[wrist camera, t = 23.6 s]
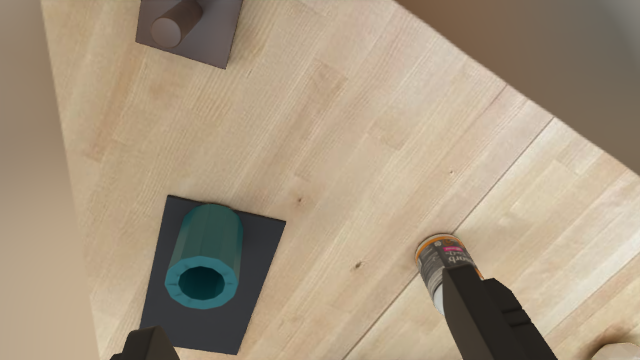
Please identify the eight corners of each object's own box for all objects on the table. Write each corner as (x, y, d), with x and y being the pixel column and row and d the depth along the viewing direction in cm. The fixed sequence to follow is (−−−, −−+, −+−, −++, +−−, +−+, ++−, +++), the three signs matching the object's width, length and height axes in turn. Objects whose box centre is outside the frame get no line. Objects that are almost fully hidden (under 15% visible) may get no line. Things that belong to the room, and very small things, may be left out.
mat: (137, 338, 50) (136, 341, 50) (167, 194, 41) (167, 196, 41) (236, 352, 53) (236, 355, 53) (285, 221, 44) (286, 223, 44)
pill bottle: (471, 239, 48) (515, 304, 39) (445, 275, 50) (481, 344, 42) (429, 226, 46) (465, 291, 38) (404, 264, 49) (433, 333, 40)
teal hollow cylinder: (177, 245, 43) (159, 302, 37) (188, 197, 41) (172, 250, 34) (234, 256, 45) (228, 314, 38) (249, 211, 42) (245, 264, 35)
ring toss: (140, 38, 34) (95, 72, 25) (154, -57, 31) (108, -56, 22) (227, 65, 35) (213, 105, 27) (248, -22, 32) (240, -8, 24)
